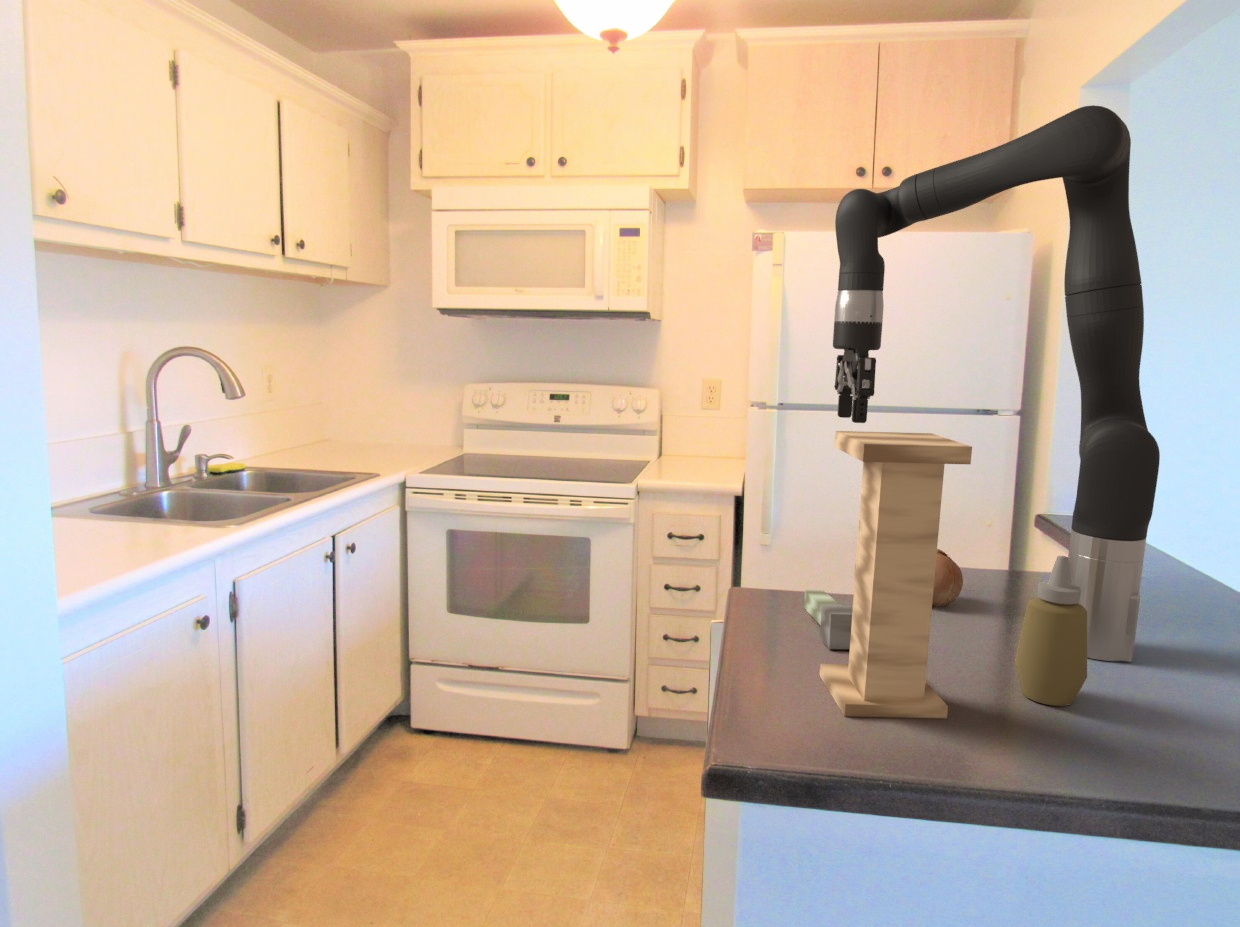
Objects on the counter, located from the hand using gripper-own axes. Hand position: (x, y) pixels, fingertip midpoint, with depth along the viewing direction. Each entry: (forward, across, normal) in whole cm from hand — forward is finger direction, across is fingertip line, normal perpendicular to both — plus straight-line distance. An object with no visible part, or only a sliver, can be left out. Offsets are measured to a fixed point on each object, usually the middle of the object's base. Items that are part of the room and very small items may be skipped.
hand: (851, 419), depth 139 cm
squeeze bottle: (+30, -39, -16) cm, 52 cm away
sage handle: (+30, -16, +6) cm, 35 cm away
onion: (+30, -3, -15) cm, 34 cm away
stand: (+30, -40, +6) cm, 50 cm away
